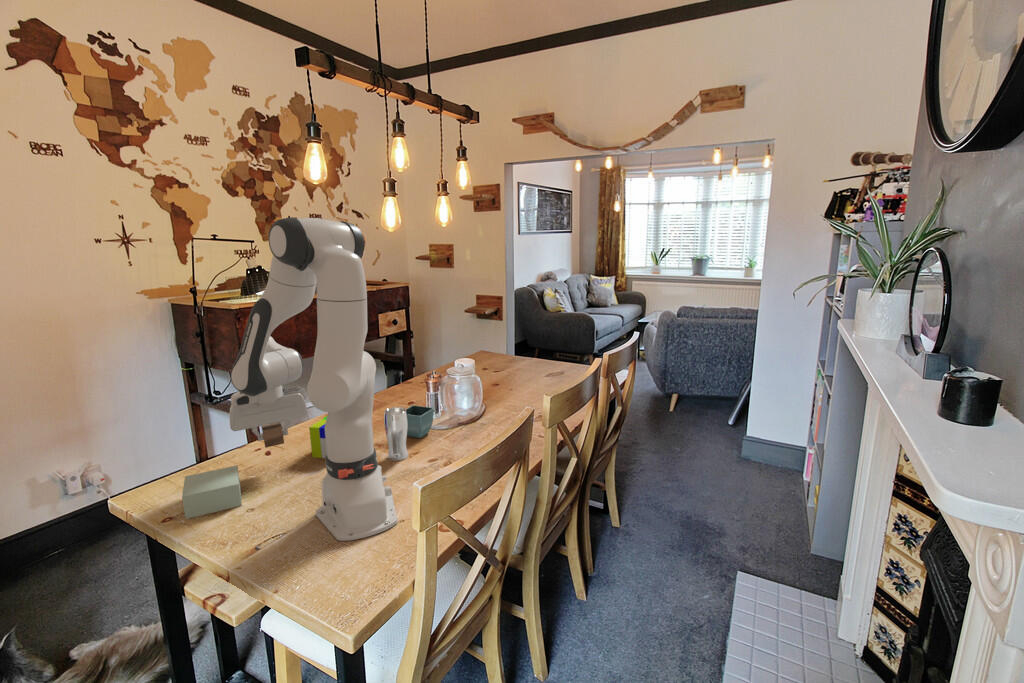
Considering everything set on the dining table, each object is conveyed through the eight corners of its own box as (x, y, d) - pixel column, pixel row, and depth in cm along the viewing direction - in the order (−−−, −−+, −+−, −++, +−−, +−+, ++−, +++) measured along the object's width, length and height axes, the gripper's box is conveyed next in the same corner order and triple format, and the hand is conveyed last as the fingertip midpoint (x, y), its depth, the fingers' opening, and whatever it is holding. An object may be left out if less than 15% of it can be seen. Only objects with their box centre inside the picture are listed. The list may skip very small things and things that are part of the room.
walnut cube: (284, 443, 141) (281, 427, 140) (265, 447, 139) (262, 431, 138) (282, 437, 145) (280, 422, 144) (264, 442, 143) (261, 426, 142)
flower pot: (399, 438, 165) (398, 413, 163) (414, 428, 173) (412, 404, 171) (421, 441, 162) (420, 416, 160) (435, 432, 170) (434, 407, 168)
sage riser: (241, 505, 124) (238, 483, 123) (185, 519, 118) (181, 496, 117) (240, 485, 134) (237, 465, 133) (188, 497, 128) (185, 476, 127)
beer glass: (384, 454, 153) (381, 408, 150) (407, 450, 156) (404, 405, 153) (388, 463, 147) (385, 416, 144) (411, 458, 149) (409, 412, 146)
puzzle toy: (341, 459, 149) (338, 429, 147) (312, 457, 151) (309, 427, 149) (357, 446, 159) (355, 417, 157) (330, 444, 161) (327, 415, 159)
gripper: (303, 382, 146) (309, 425, 149) (225, 396, 137) (233, 442, 139) (306, 387, 141) (312, 432, 144) (225, 402, 131) (234, 450, 134)
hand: (273, 437), depth 142 cm, fingers closed on walnut cube, 5 cm apart
